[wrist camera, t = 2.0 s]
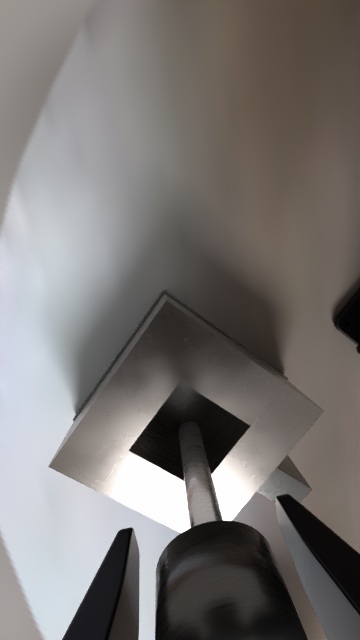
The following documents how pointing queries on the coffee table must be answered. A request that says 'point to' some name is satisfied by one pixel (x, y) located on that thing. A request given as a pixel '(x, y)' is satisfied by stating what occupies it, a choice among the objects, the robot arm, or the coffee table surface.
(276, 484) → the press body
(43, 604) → the coffee table surface
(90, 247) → the coffee table surface
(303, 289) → the coffee table surface
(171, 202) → the coffee table surface
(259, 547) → the plunger
